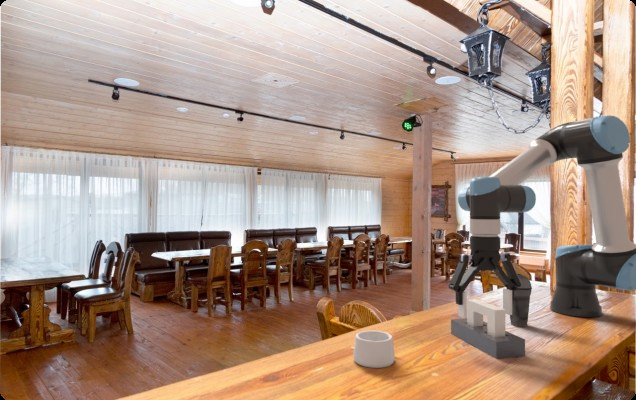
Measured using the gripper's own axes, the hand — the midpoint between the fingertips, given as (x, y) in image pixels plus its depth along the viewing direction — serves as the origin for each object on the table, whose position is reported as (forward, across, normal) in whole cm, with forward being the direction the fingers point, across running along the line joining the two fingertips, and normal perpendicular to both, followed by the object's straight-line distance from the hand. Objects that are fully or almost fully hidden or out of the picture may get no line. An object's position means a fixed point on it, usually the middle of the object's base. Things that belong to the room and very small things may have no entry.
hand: (485, 315), depth 110 cm
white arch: (+7, 0, 0) cm, 7 cm away
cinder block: (+7, 0, 0) cm, 7 cm away
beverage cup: (+8, -21, -13) cm, 26 cm away
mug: (+8, +32, +4) cm, 33 cm away
